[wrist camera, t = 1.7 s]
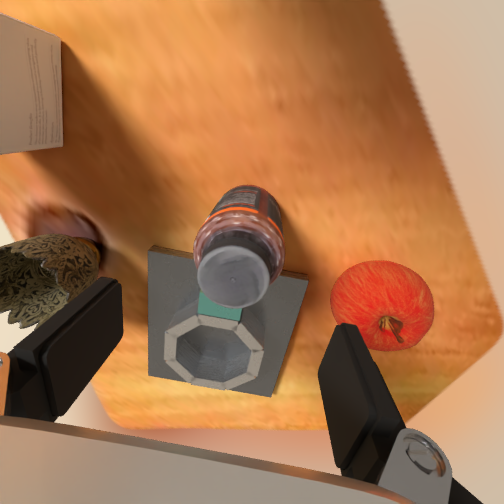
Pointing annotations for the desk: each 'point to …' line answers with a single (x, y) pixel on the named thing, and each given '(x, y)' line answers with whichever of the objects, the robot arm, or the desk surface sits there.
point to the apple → (384, 304)
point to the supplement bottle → (240, 248)
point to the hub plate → (217, 328)
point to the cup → (45, 275)
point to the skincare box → (29, 87)
